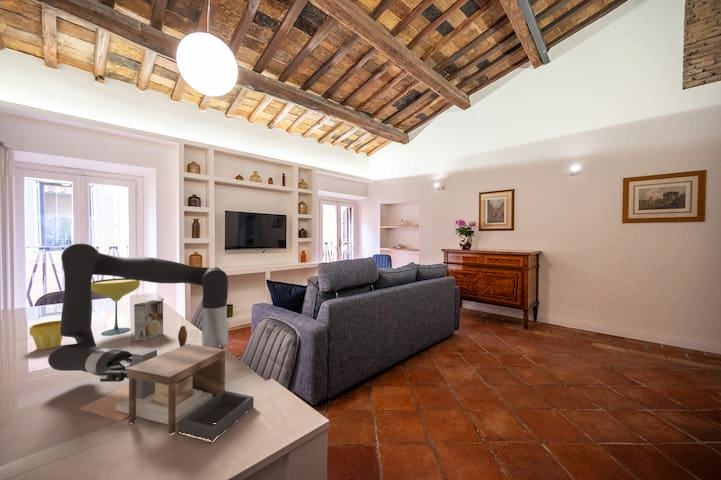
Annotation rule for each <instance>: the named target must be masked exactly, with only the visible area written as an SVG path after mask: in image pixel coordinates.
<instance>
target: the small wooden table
mask: <svg viewBox="0 0 721 480" xmlns="http://www.w3.org/2000/svg"><path fill="white" fill-rule="evenodd" d="M189 375H193V378H192V389H196V390H201V391H202V392H207V393H211V394H213V398H214V397H215V396H217V395H218V394H219V393H221V392H222V391H226V349H223V348H221V349H219V348H212V347H206V346H202V345H199V344H191V343H187V344H186V343H185V345H184V346H181V347H180V346H179V347H177V348H174V349H171V350H169V351H166V352H163V353H162V354H159V355H157V356H156V357H154V358H151V359H149V360H146V361H144V362H141V363H139V364H136V365H134V366H131V367H129V368H127V377H129V379H128V386H129V417H128V424H129V423H133V424H135V423H136V422H137V416H136V378H137V379H141V380H146V381H150V382H155V383H160V384H164V385H168V424H167V429H168V431H167V433H169V434H172V433H174V432H175V433H176V424H175V411H176V382H177V381H179V380H181V379H183V378H185V377H187V376H189ZM135 421H136V422H135ZM134 422H135V423H134Z"/></svg>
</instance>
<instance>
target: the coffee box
mask: <svg viewBox="0 0 721 480" xmlns="http://www.w3.org/2000/svg"><path fill="white" fill-rule="evenodd" d="M133 307H134V308H133V313H134V317H133V318H134V322H133V323H134V340H135V339H136V341H148V340H151V339H153V338H156V337H158V335H159V336H161V335H163V334H164V300H149V301H148V300H147V301H143V302H139V303H135V304H134V306H133Z"/></svg>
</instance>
